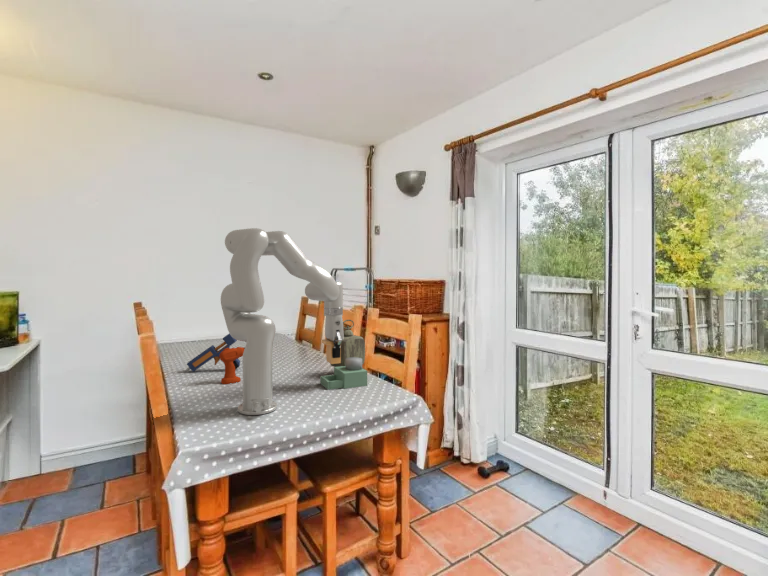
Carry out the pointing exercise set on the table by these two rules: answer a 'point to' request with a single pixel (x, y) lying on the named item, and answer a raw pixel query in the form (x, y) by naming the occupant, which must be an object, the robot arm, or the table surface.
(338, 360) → the orange rectangular block
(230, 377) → the toy drill
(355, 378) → the green drawer box
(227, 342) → the glue gun
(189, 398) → the table surface
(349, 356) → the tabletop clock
